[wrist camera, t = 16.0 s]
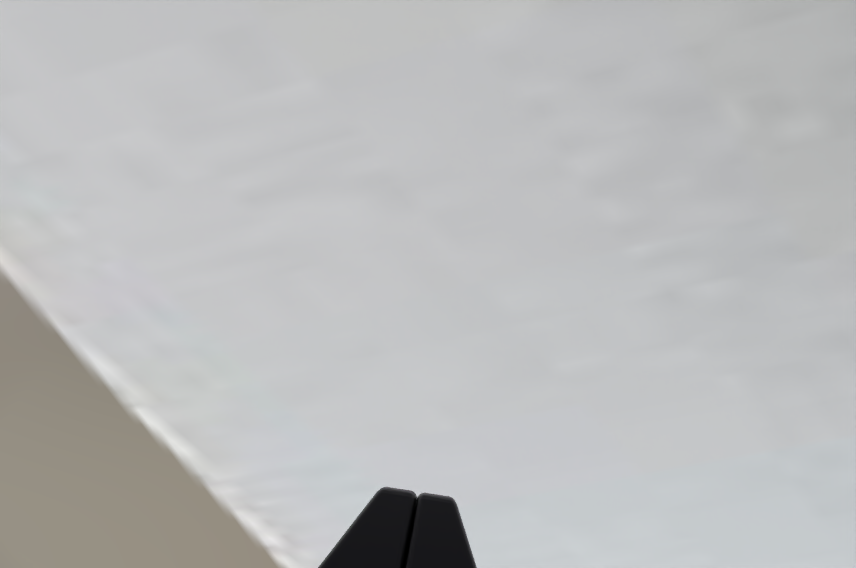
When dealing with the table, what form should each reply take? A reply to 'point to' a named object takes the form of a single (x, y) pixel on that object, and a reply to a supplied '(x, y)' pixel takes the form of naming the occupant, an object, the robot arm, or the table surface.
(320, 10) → the table surface
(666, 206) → the table surface
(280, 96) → the table surface
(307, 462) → the table surface
